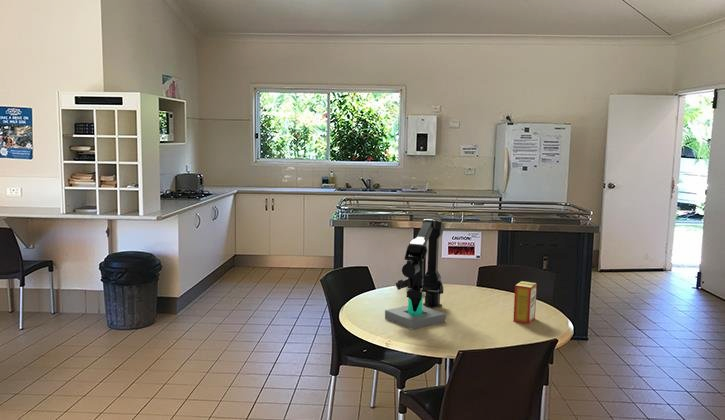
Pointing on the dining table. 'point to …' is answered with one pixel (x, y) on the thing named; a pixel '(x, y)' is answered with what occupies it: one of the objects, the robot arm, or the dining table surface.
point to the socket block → (415, 317)
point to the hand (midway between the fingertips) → (415, 308)
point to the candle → (419, 309)
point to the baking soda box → (525, 302)
